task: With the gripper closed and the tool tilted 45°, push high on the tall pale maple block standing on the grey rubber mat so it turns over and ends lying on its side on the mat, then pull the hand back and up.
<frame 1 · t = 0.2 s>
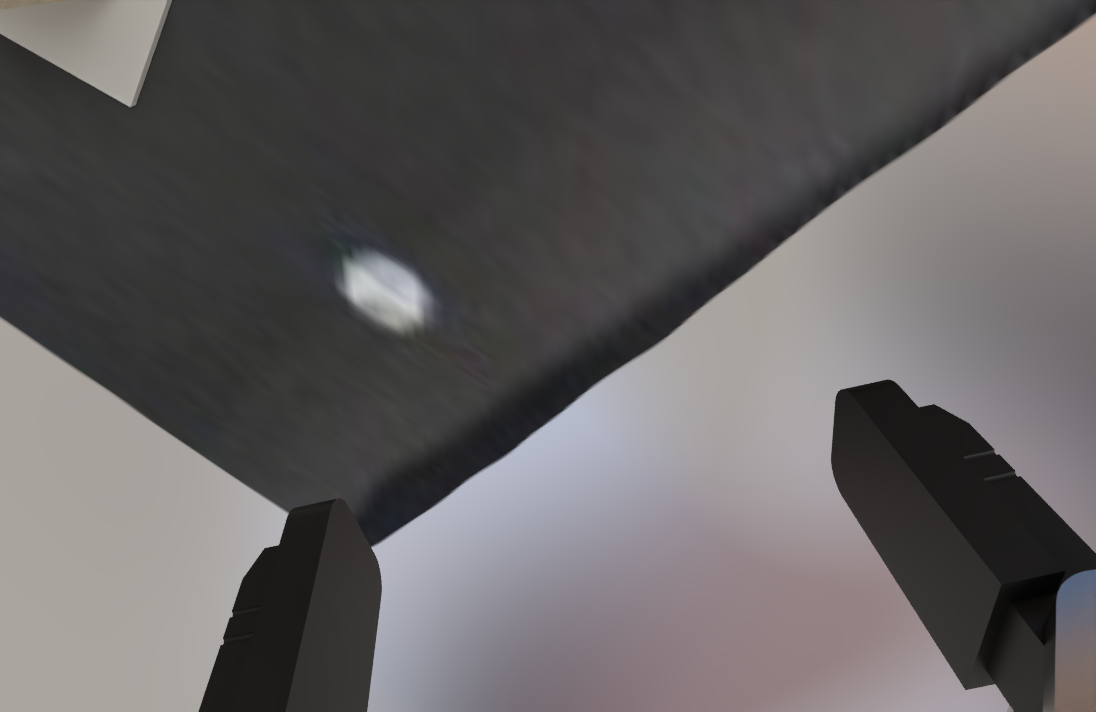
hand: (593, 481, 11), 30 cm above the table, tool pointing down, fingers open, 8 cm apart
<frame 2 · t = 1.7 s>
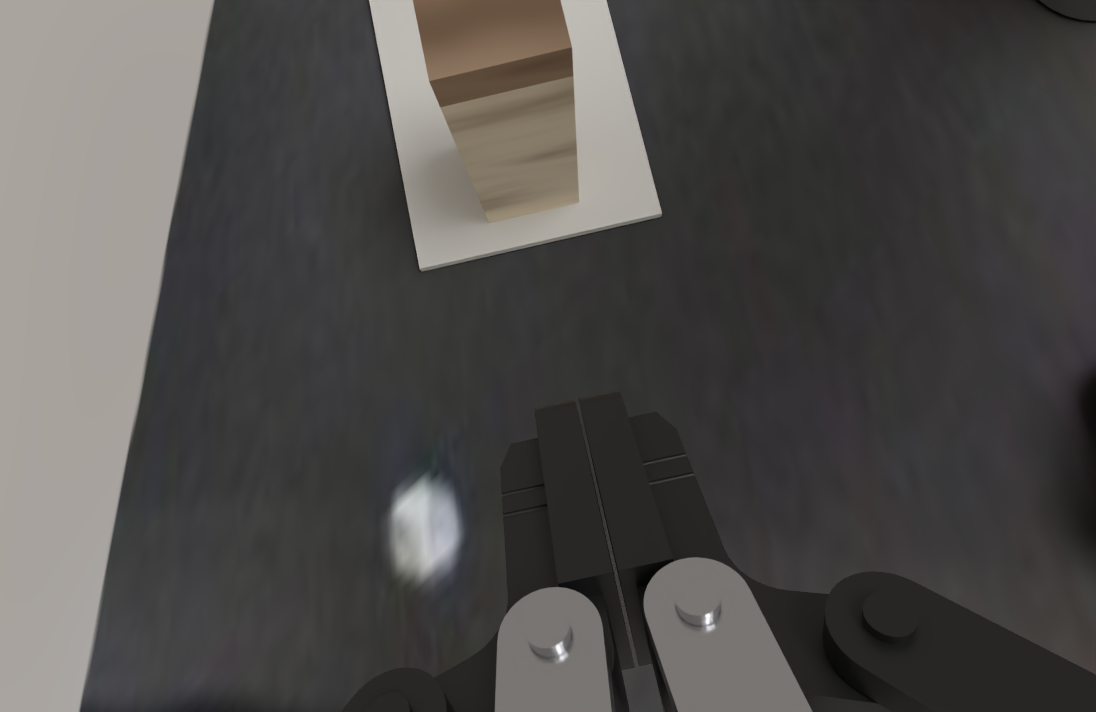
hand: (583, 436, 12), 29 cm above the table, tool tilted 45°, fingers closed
maple block: (524, 170, 43), point 1 cm above the table, touching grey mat
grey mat: (504, 81, 45), on the table
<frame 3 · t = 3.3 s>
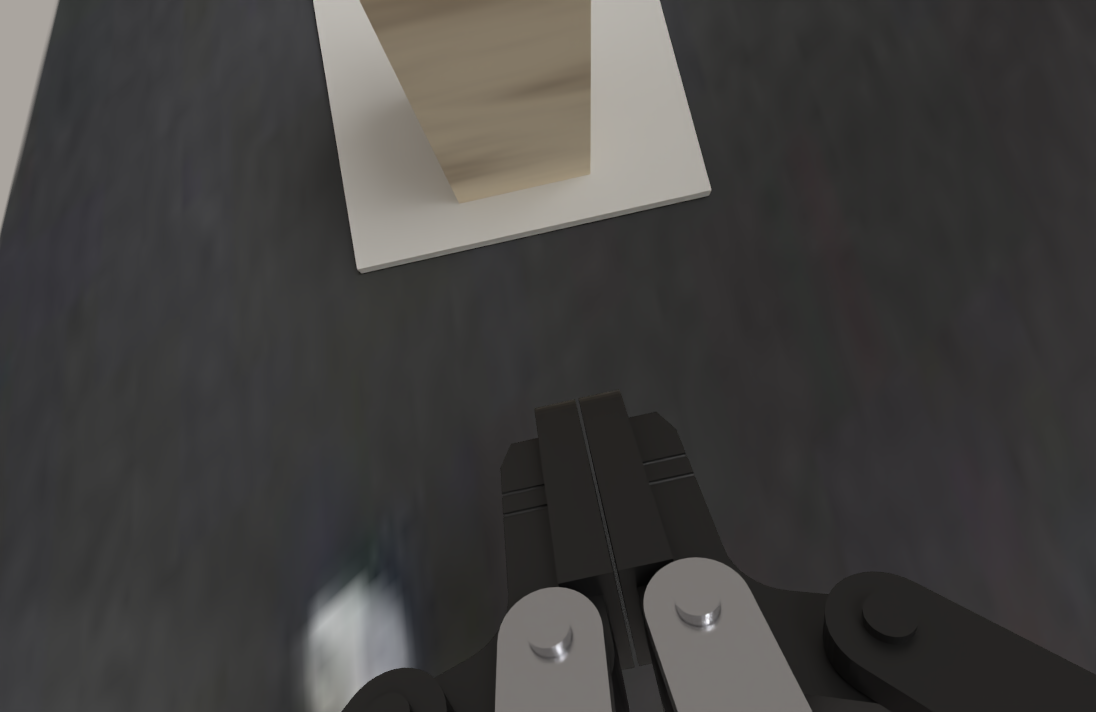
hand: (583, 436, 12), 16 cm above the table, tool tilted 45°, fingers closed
maple block: (511, 128, 30), point 1 cm above the table, touching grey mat
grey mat: (483, 3, 32), on the table
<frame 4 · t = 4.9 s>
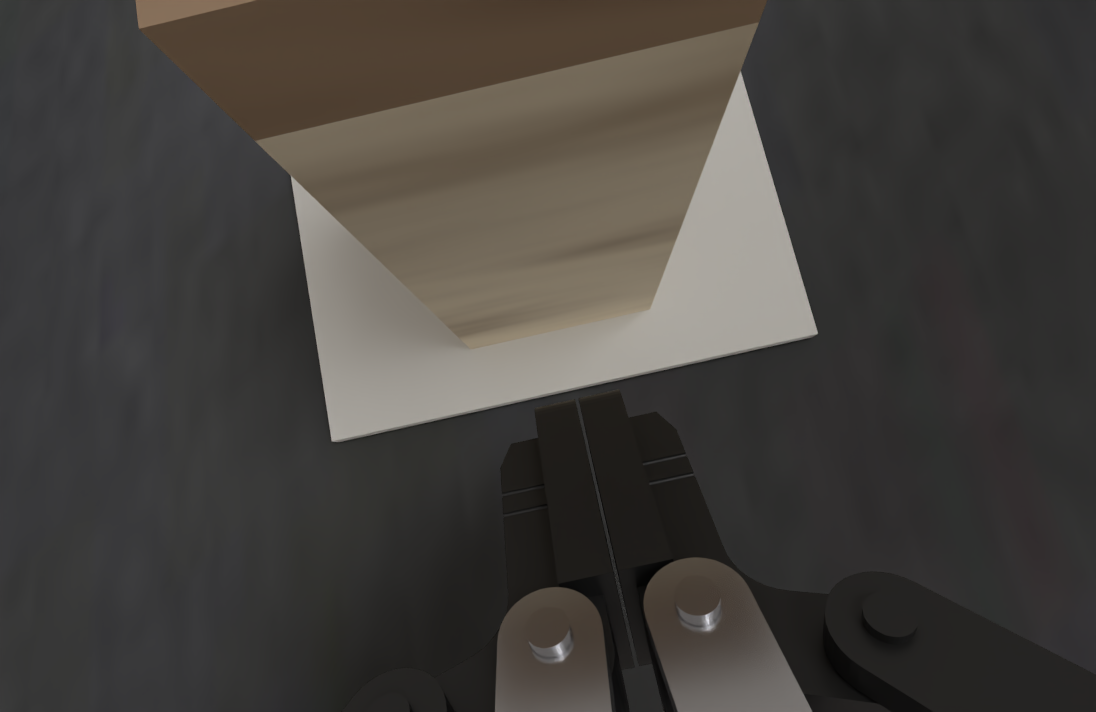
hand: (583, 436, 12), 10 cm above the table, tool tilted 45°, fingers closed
maple block: (540, 243, 22), point 1 cm above the table, touching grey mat
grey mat: (501, 68, 24), on the table
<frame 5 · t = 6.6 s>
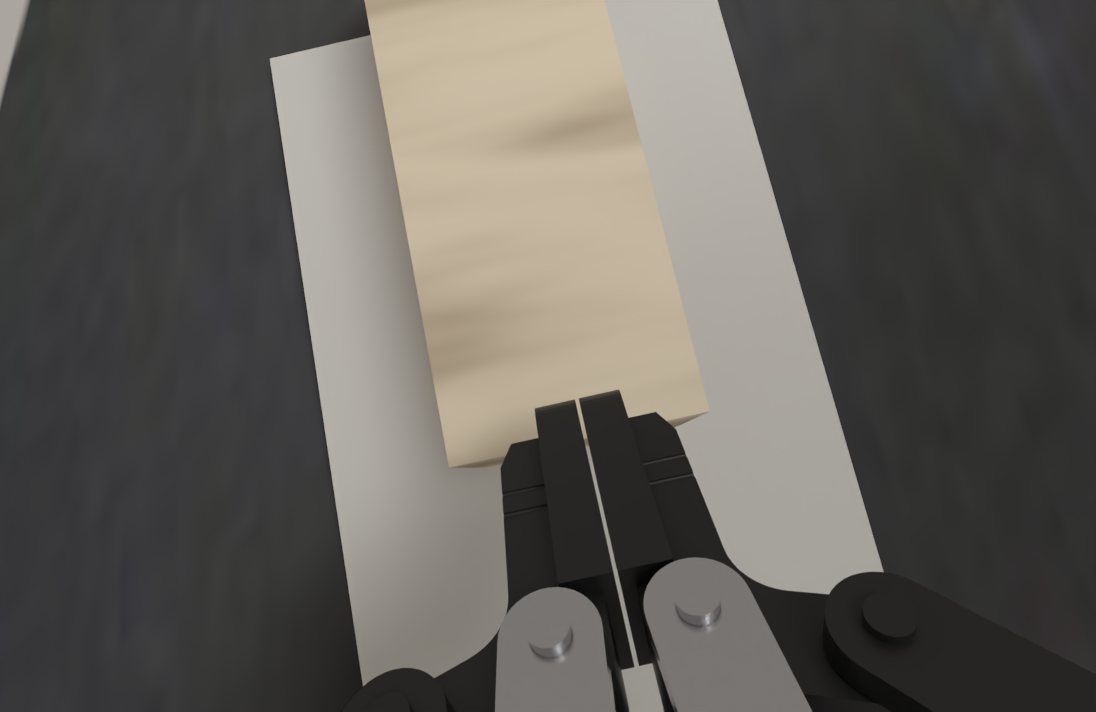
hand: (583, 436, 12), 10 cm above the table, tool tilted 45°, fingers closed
maple block: (580, 444, 18), point 4 cm above the table, tilted 90°, touching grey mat
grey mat: (555, 331, 22), on the table
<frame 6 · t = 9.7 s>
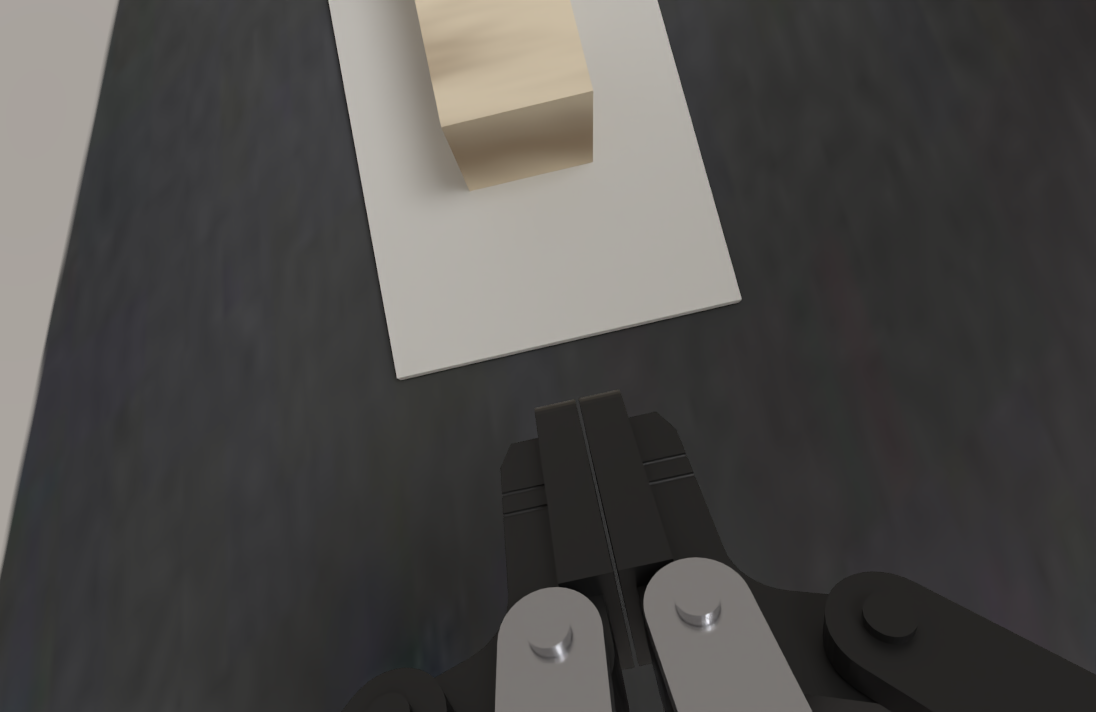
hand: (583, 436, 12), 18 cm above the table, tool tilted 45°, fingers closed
maple block: (524, 146, 28), point 4 cm above the table, tilted 90°, touching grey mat
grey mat: (514, 108, 32), on the table
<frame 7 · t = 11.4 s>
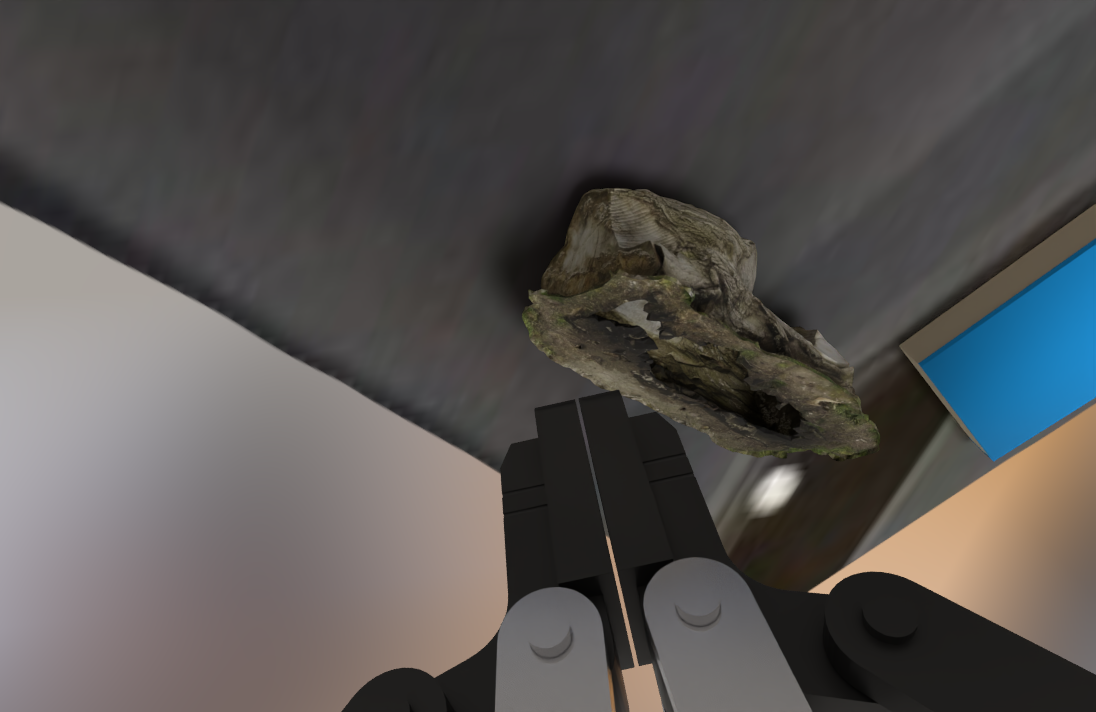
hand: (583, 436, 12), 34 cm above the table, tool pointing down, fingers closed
book: (1059, 303, 57), on the table
weathered driftwood: (682, 308, 52), on the table
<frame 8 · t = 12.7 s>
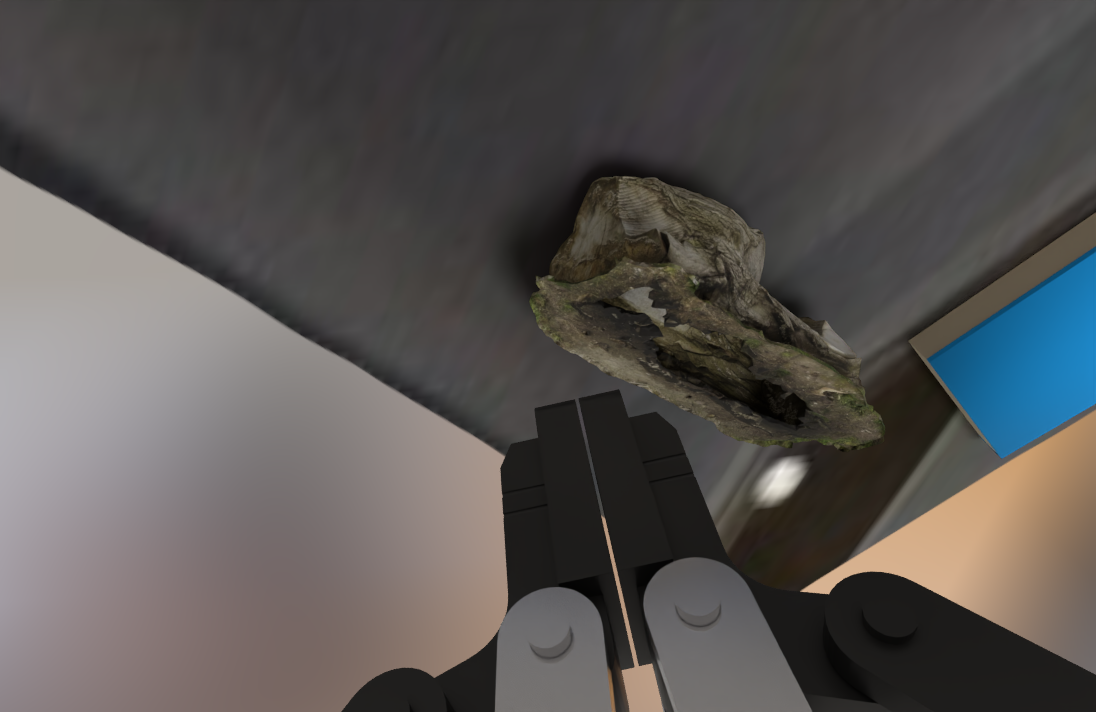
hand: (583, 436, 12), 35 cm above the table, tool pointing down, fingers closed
book: (1073, 301, 57), on the table
weathered driftwood: (690, 297, 52), on the table
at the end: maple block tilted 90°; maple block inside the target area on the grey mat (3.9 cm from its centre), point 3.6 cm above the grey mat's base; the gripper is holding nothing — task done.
